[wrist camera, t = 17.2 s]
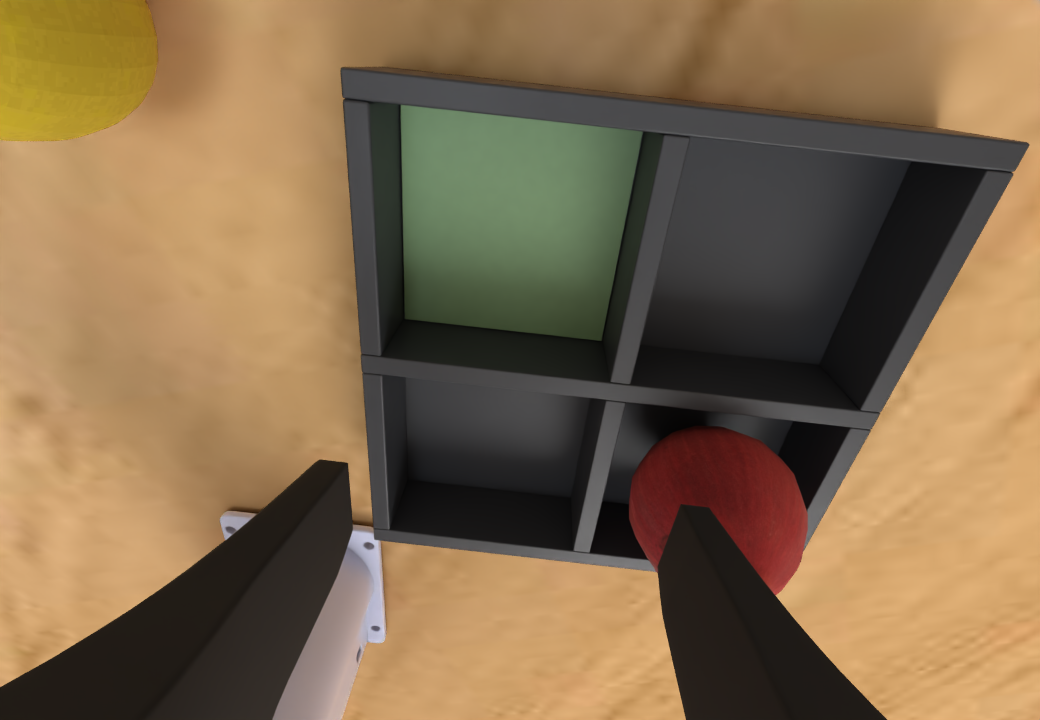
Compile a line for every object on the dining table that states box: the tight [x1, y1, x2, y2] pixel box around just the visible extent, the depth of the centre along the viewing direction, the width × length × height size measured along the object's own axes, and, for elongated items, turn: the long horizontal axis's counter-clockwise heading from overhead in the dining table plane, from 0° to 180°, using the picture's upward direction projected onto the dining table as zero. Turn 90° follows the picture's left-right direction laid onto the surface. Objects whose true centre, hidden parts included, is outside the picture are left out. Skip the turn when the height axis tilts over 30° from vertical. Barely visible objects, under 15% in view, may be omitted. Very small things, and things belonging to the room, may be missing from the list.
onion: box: [629, 426, 808, 595], centre depth 18 cm, size 6×6×8 cm
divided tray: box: [341, 67, 1029, 572], centre depth 18 cm, size 17×17×4 cm
